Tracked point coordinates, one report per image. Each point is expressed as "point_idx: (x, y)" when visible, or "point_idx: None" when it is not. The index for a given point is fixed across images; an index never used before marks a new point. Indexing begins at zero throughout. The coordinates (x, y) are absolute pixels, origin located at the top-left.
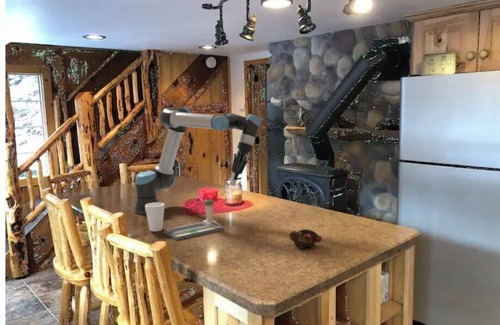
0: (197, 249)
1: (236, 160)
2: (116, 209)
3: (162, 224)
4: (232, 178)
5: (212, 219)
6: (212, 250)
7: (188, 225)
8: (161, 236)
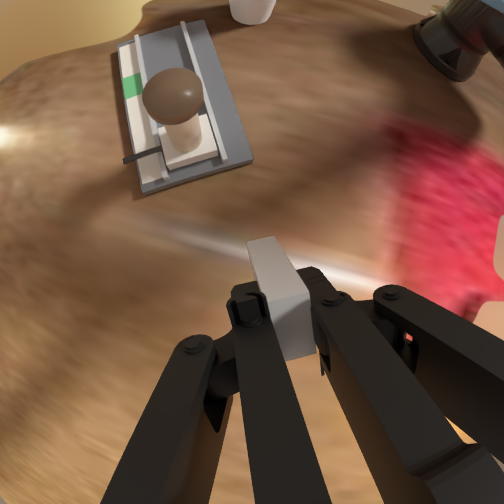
0: (32, 102)
1: (456, 447)
2: None
3: (244, 14)
4: (259, 266)
5: (173, 144)
6: (9, 137)
7: (195, 71)
8: (175, 20)
